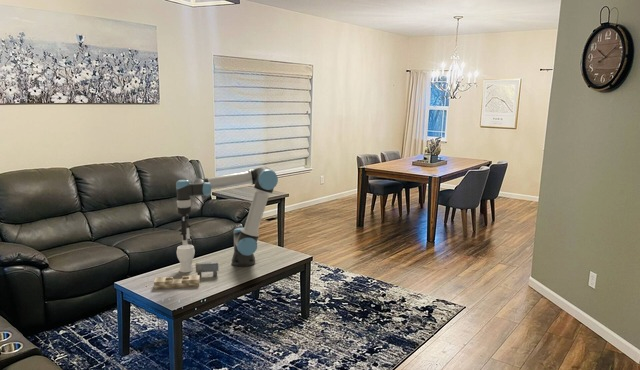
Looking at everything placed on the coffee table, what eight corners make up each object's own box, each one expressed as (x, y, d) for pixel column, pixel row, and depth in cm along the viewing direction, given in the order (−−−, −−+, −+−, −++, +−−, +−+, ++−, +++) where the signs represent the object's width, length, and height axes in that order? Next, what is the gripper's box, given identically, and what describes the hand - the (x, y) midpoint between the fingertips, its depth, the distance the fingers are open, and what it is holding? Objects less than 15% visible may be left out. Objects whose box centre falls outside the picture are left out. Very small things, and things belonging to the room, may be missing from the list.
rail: (199, 281, 266) (199, 275, 265) (199, 286, 259) (198, 279, 258) (156, 284, 261) (155, 277, 260) (154, 289, 254) (153, 282, 254)
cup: (190, 274, 278) (189, 250, 275) (174, 272, 280) (173, 248, 277) (198, 268, 288) (197, 244, 285) (182, 266, 290) (181, 243, 287)
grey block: (218, 274, 277) (218, 261, 276) (218, 276, 275) (218, 263, 273) (196, 275, 275) (195, 263, 273) (196, 277, 272) (195, 264, 271)
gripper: (179, 202, 280) (181, 236, 283) (174, 211, 255) (177, 248, 259) (192, 201, 281) (194, 235, 285) (188, 211, 257) (191, 247, 260)
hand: (186, 241), depth 272 cm, fingers open, 13 cm apart
